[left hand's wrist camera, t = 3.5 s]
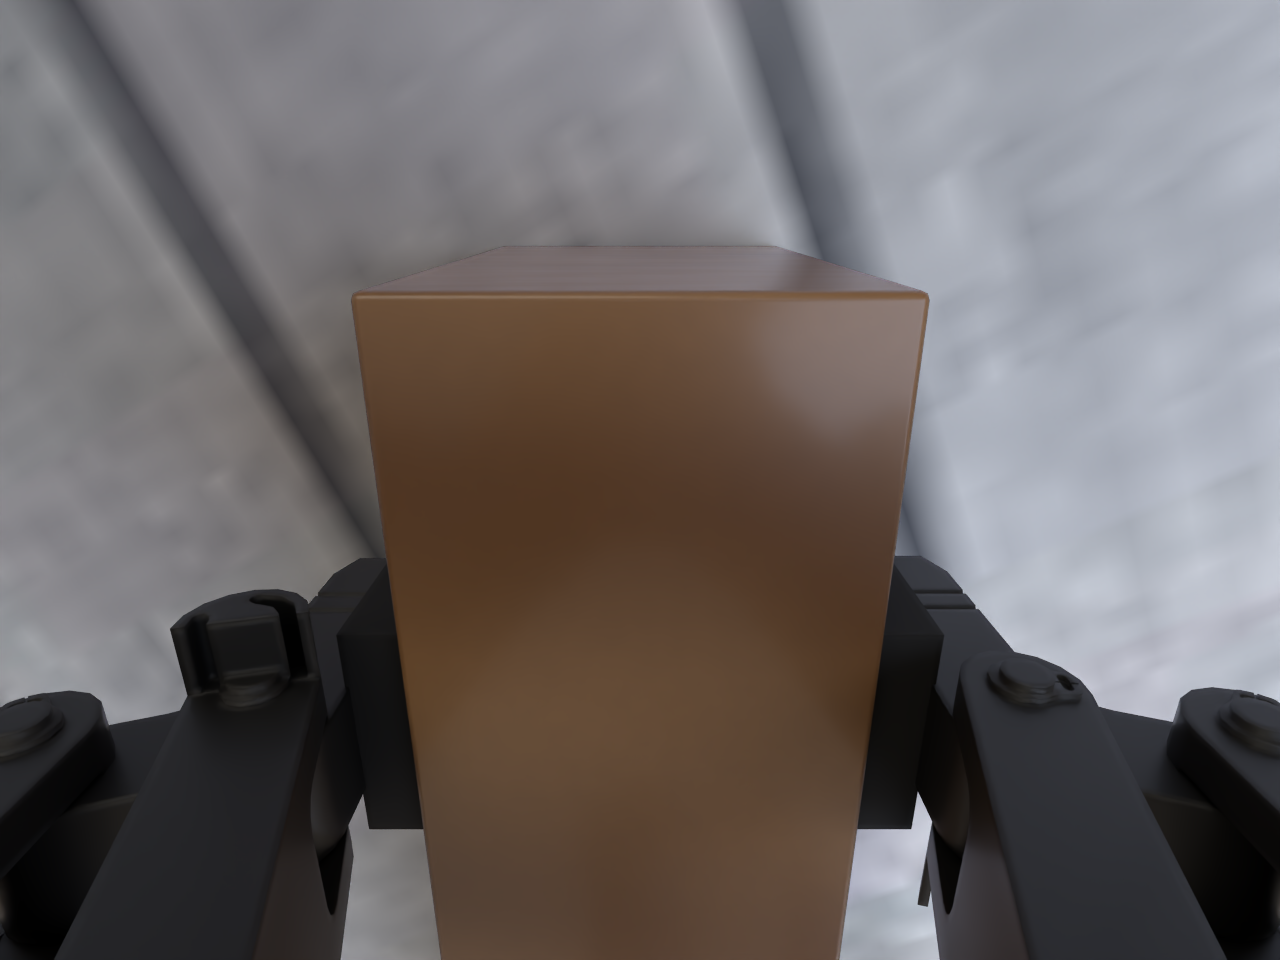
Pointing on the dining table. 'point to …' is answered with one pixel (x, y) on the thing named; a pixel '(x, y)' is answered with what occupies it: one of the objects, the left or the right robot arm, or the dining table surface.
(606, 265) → the bar
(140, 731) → the left robot arm
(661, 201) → the dining table surface
